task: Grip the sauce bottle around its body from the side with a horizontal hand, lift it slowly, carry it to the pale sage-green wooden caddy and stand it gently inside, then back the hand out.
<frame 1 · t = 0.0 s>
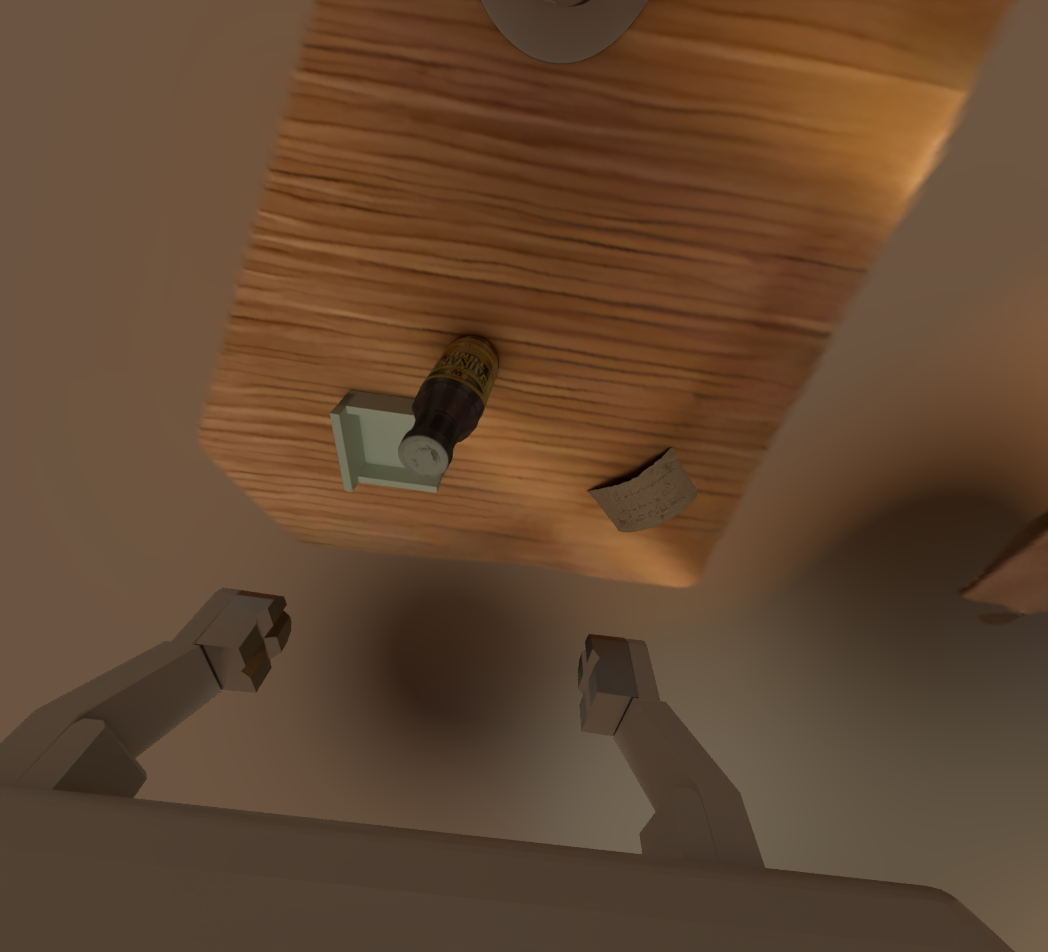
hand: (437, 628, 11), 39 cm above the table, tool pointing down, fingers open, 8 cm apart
caddy: (399, 435, 54), on the table
sauce bottle: (471, 358, 47), on the table
grey curved piece: (641, 489, 58), on the table
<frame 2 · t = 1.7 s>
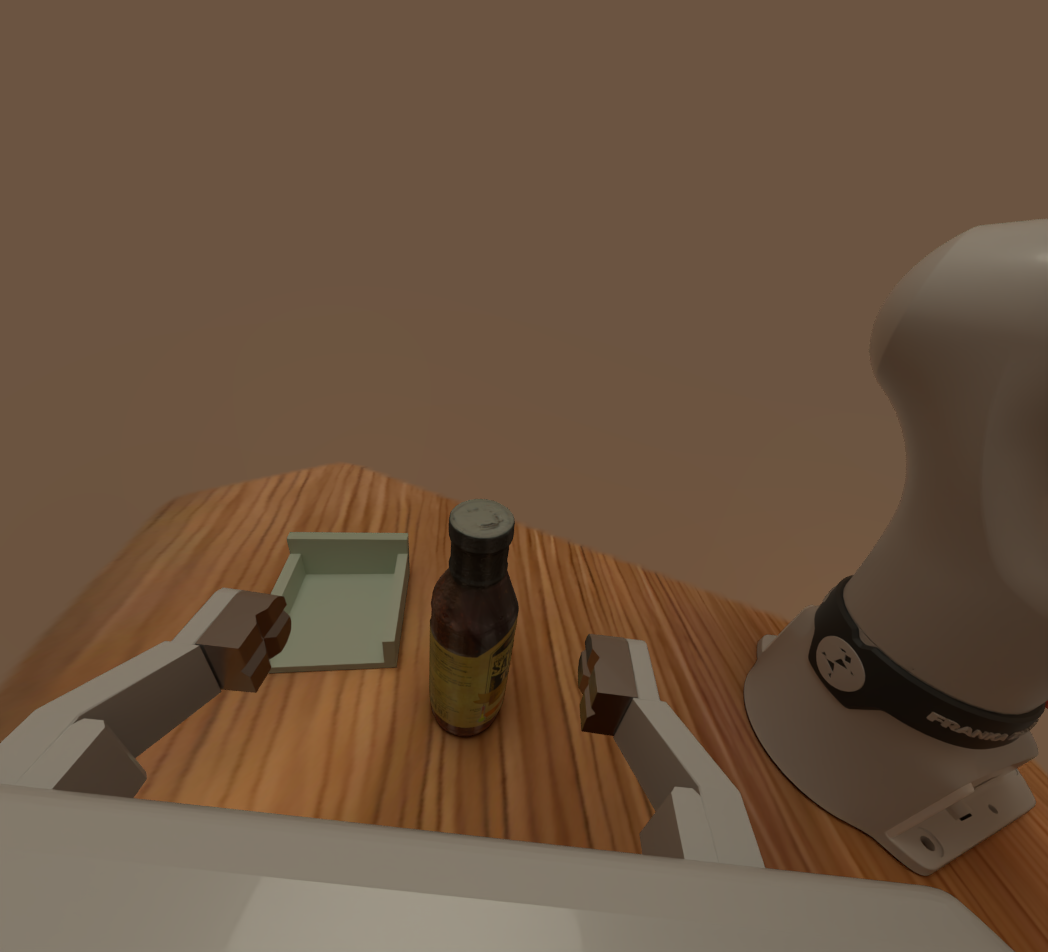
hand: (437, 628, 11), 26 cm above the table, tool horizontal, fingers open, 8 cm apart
caddy: (343, 615, 41), on the table
sauce bottle: (466, 700, 35), on the table
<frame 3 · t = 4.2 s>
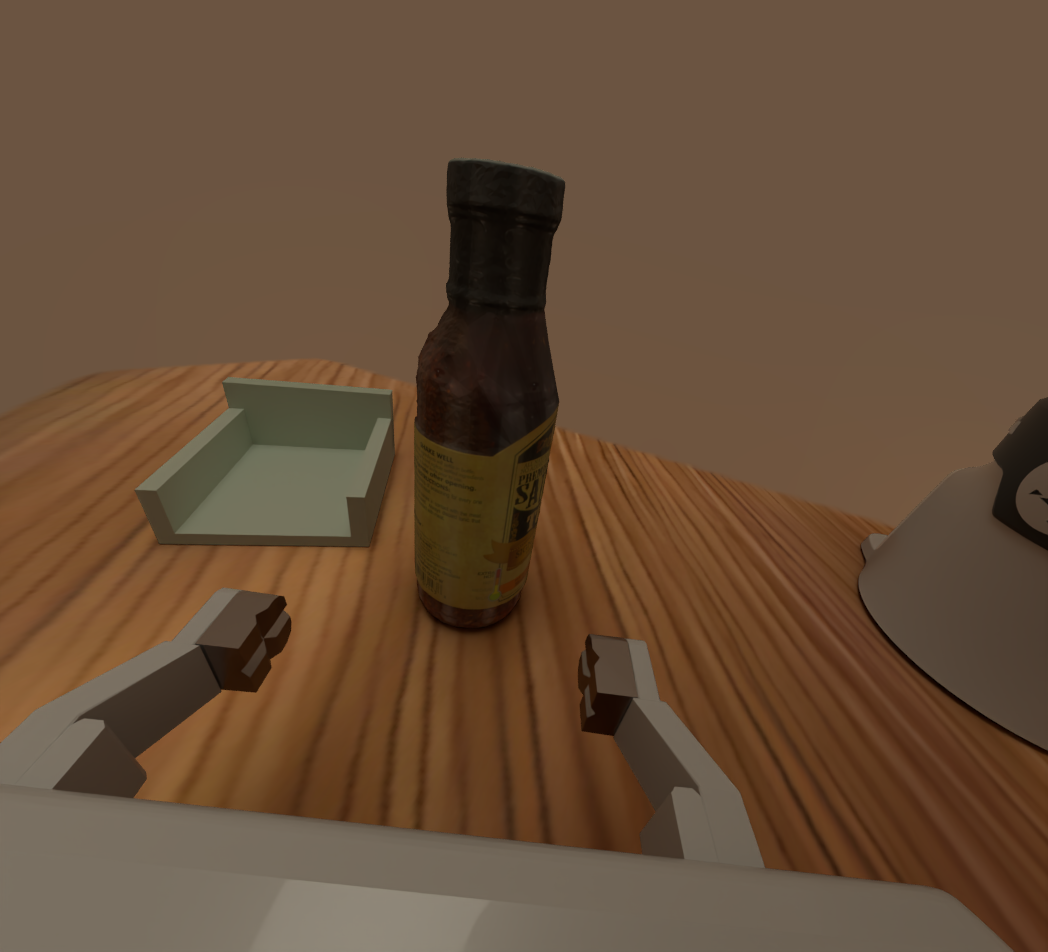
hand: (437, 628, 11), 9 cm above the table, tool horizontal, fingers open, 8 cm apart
caddy: (300, 490, 29), on the table
sauce bottle: (470, 589, 24), on the table
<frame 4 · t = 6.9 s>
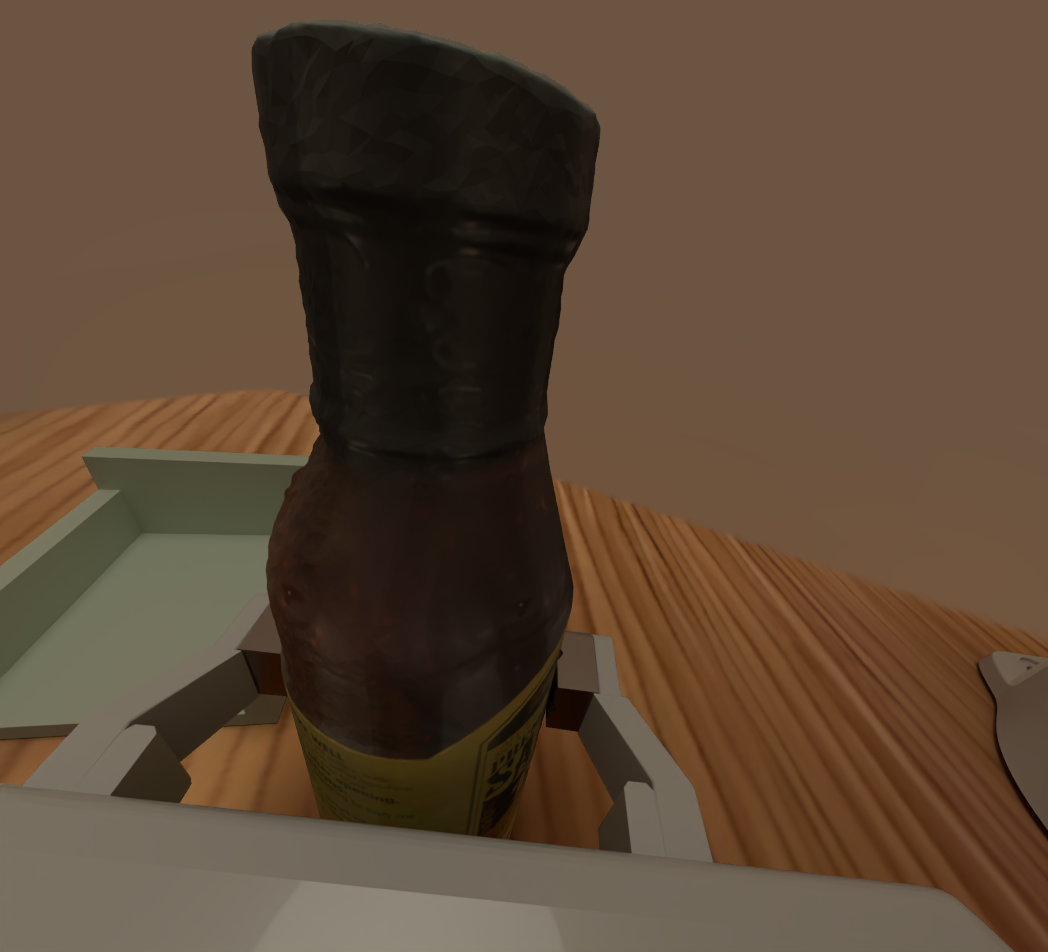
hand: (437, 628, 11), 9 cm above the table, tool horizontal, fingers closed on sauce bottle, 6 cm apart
caddy: (195, 610, 20), on the table
sauce bottle: (428, 806, 15), on the table, touching gripper
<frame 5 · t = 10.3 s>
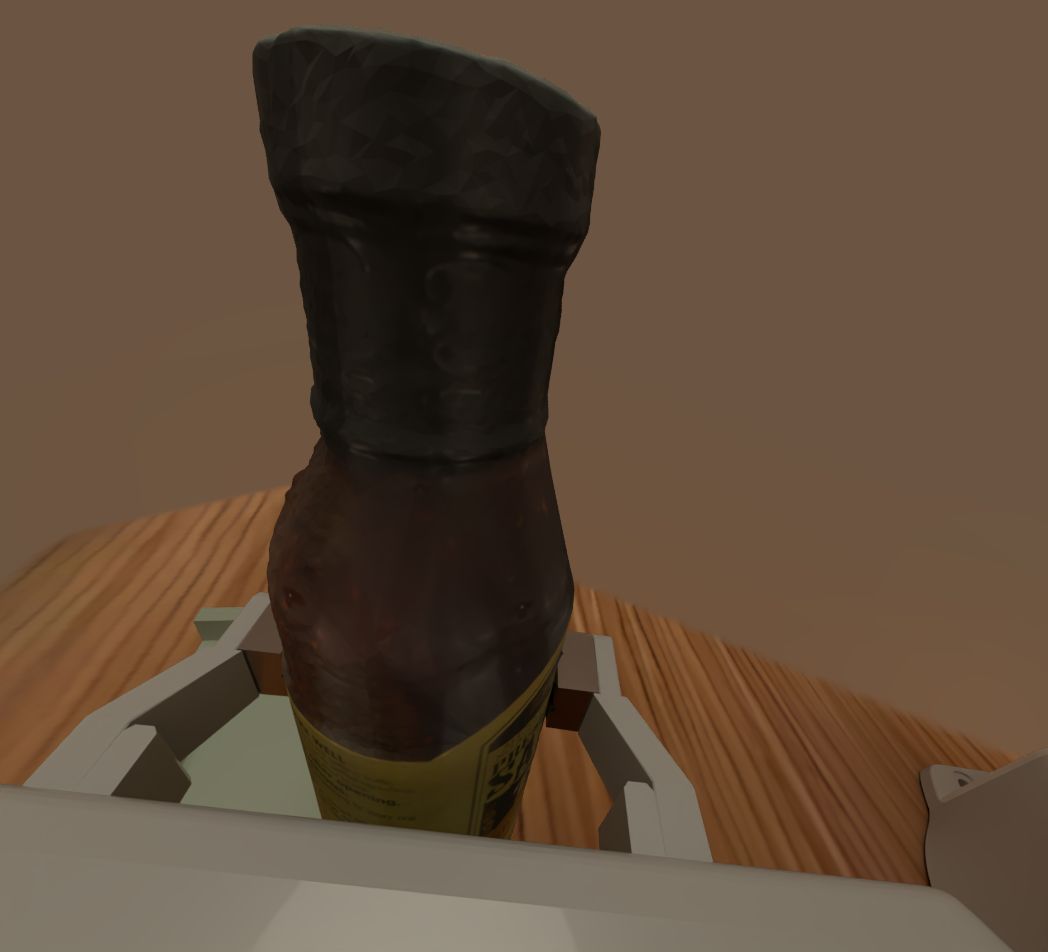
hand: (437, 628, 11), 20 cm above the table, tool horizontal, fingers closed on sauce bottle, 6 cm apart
caddy: (283, 742, 26), on the table
sauce bottle: (429, 807, 15), point 11 cm above the table, touching gripper
when the fingers open (11 cm above the table, at t = 13.9 s): sauce bottle drops 1 cm, resting on caddy.
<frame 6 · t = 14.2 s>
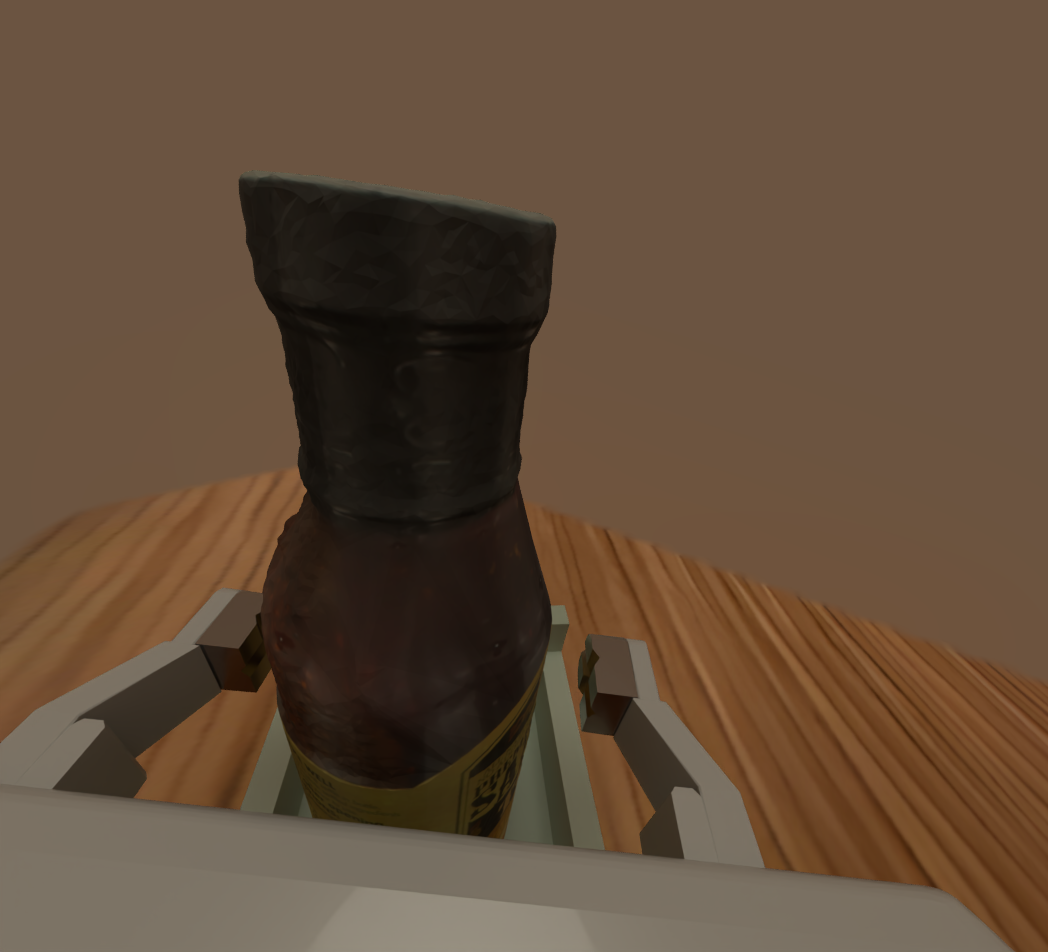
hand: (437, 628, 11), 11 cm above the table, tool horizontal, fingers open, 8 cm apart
caddy: (427, 822, 16), on the table
sauce bottle: (423, 818, 16), point 1 cm above the table, touching caddy
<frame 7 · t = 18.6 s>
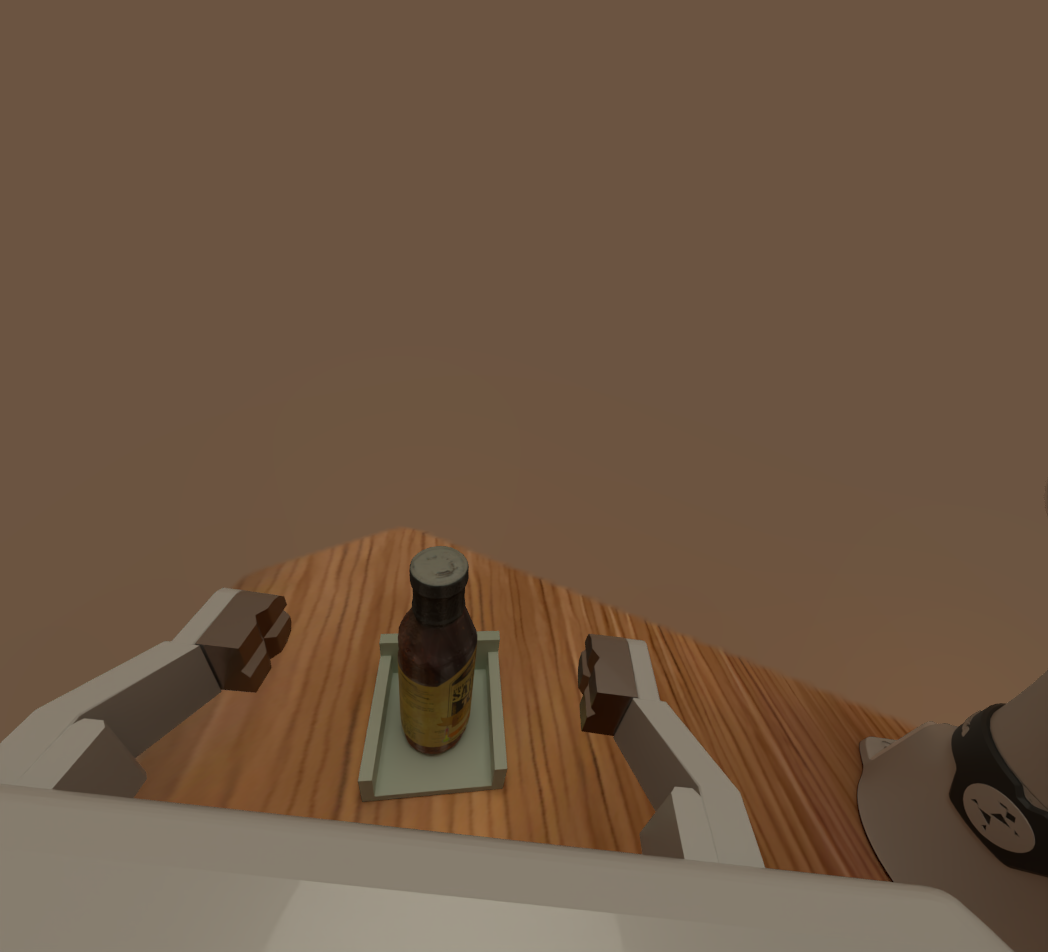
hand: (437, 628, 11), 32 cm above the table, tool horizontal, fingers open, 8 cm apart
caddy: (437, 722, 39), on the table
sauce bottle: (436, 720, 39), point 1 cm above the table, touching caddy
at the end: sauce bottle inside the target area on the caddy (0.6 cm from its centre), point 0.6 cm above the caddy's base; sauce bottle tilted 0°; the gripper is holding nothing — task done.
